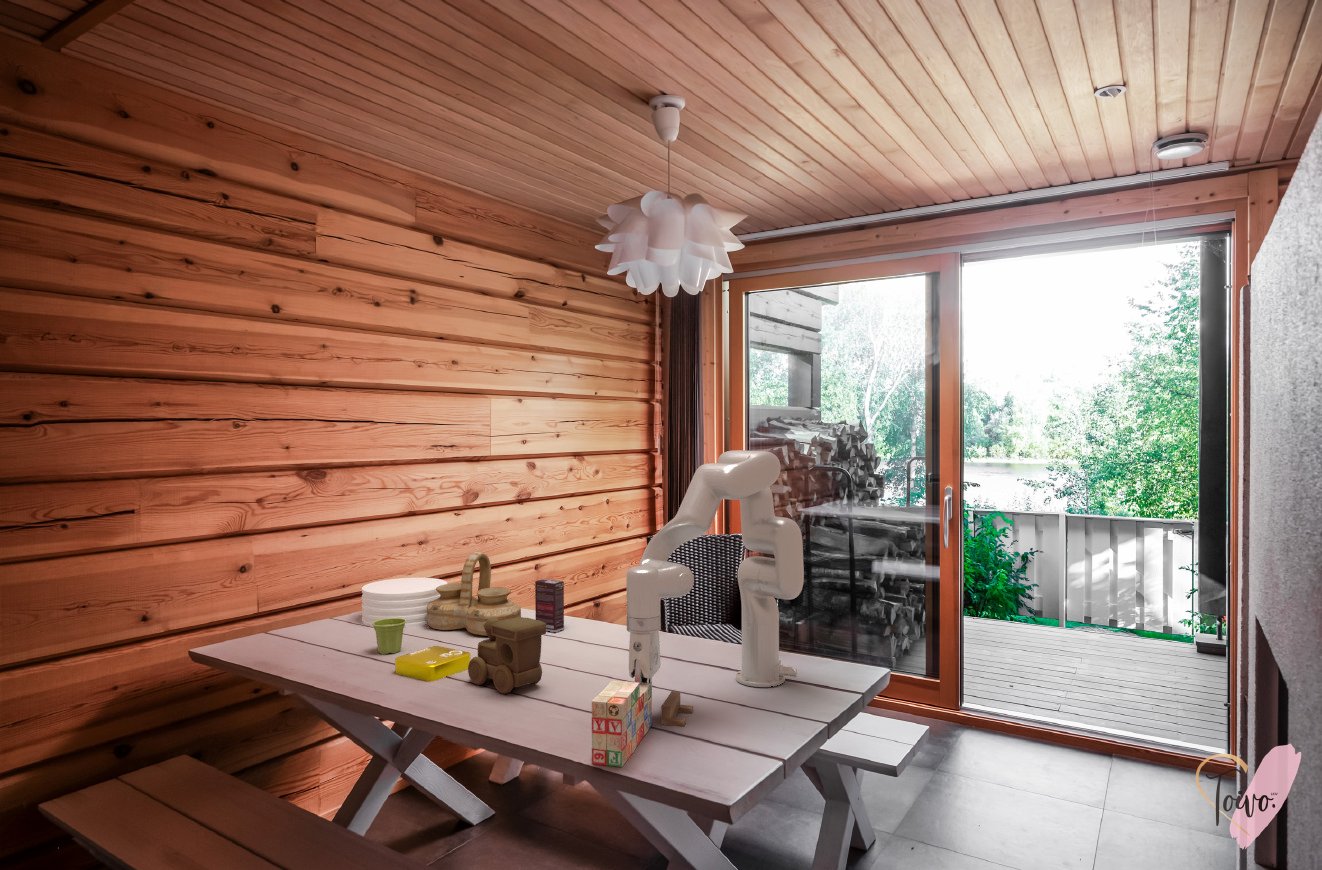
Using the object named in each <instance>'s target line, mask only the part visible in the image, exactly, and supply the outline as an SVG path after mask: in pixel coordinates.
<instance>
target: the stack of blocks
mask: <svg viewBox="0 0 1322 870" xmlns="http://www.w3.org/2000/svg"><path fill="white" fill-rule="evenodd" d="M651 687H652V685H651V683H642V684H641V685H640V684H639V683H636V682H635V681H627V680H626V681H621V680H620V681H618V680H611V681H610V682H609V683H608V684H607V685H606V686H605V687H604V689H603V690H602V691H601V692H599V693H598V695H596V696H595V697H594V698H593V699H592V700H591V764H592V765H599V766H609V767H616V768H618V767H619V768H622V767H623V766H624V765H625V764H626V762H627V761H628V760H629V759H630V757H631V756H632V755H633V753H634V752H635V750H636V749H637V747H638V745H639V744H640V742H641V740H642V739H643V738H644V737H645V735H646V734H647V733H648V732H649V730H650V729H651V727H652V725H653V720H652V719H653V716H652V715H653V713H652V711H653V696H652V697H651Z"/></svg>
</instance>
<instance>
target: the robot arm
mask: <svg viewBox="0 0 1322 870" xmlns="http://www.w3.org/2000/svg"><path fill="white" fill-rule="evenodd" d="M781 468H782V467H781V463H780V459H779V457H778V456H777V455H775V454H774V453H773V452H771V451H767V450H766V451H765V450H743V449H739V450H738V449H737V450H736V449H735V450H728V451H725V452H723V453H721V454H720V455H719V456H718V459H717V463H716V462H715V463H714V462H711V463H709V462H708V463H704V464H701V465H700V466H699V467H698V468H696V470H695V472H694V474H693V477H692V478H691V481H690V483H689V484H688V487H687V490H686V492H685V495H684V497H683V499H682V501H681V504H680V505H679V506H680V507H679V508H678V510H677V512H676V515H674V518H672V519H670V520H669V522H667V523H666V524H664V526H663V527H661V528H660V530H658V532H656V533H655V534H654V536H652V538H651V539H650V540H649V542H648V544H647V545H646V547H645V550H644V551H643V553H642V556H641V558H640V561H639V563H638V565H637V566H633V567H629V569H628V570H627V572H626V631H627V632H629V634H630V635H629V646H628V647H629V648H628V649H629V650H628V674H629V675H628V676H629V677H630V678H631V679H634V682H636V683H639V684H640V685H641V684H642V683H651V697H652V698H653V694H652V693H653V691H652V690H653V687H652V684H653V683H652V682H653V677H654V676H655V675H656V674H657V673H658V672H659V669H660V668H661V664H662V663H661V647H660V646H661V645H660V642H661V641H660V633H659V632H660V631H661V599H663V598H665V599H666V598H681V597H683V596H686V595H688V594H689V593H690V592H691V590H692V588H693V586H694V583H695V576H694V574H693V572H692V570H691V569H690V568H689V567H687V565H686V566H685V565H684V564H680V563H675V562H671V561H668V560H669V558H670V556H671V555H672V554H673V553H674V551H675V550H677V549H678V548H679V547H680V546H681V545H683V544H685V543H687V542H689V541H693V540H695V539H697V538H699V537H702V536H703V535H705V534H707V533H708V532H709V531H710V529H711V527H712V525H713V521H714V519H715V517H716V514H717V512H718V510H719V508H720V505H721V503H722V500H730V501H731V500H733V501H738V500H739V507H740V508H739V509H740V524H741V528H740V529H741V539H742V544H743V546H744V547H745V548H746V549H747V550H749V551H751V552H756V553H761V554H767V555H773V557H774V558H772V557H767V556H756V555H755V556H754V555H753V556H748V557H747V558H744V559H743V560H742V561H741V562H740V564H739V566H738V569H737V582H738V587H739V592H740V601H741V670H738V671H737V672H736V674H735V680H736V681H737V682H738V683H740V684H741V685H745V686H749V687H754V688H770V687H771V686H773V687H778V686H781V685H782V683H783V684H784V683H785V682H786V676H787V677H793V678H794V677H795V678H796V677H797V668H793V666H784V665H783V664H782V660H780V652H779V651H780V612H779V607H778V603H777V600H776V599H781V600H794V599H795V598H797V597H799V595H800V594H801V593H802V590H803V586H804V583H805V582H804V581H805V579H804V578H805V576H804V575H805V571H804V568H805V567H804V548H803V544H804V543H803V536H802V535H803V534H802V531H801V529H800V526H799V524H798V523H797V522H796V521H795V520H793V519H791V518H789V517H784V516H783V517H782V516H776V514H775V507H774V497H773V493H772V489H771V486H772V485H774V484H775V482H777V480H778V479H779V476H780V475H781ZM775 598H776V599H775ZM784 681H785V682H784ZM780 684H781V685H780ZM777 685H778V686H777ZM771 688H772V687H771Z"/></svg>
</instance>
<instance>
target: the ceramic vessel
mask: <svg viewBox="0 0 1322 870" xmlns="http://www.w3.org/2000/svg"><path fill="white" fill-rule="evenodd" d="M477 562H478V564H479V565H478V566H479V579H478V586H477V587H478V588H477V592H476V595H477V597H476V596H474V595H473V581H474V580H473V579H474V578H473V577H474V572H475V568H476V565H477ZM491 565H492V564H491V561H490V558H489V556H488V555H487V554H486V553H485V552H482V551H473V552H471V553H470V554H469V555H468V556H467V558H466V559H465V561H464V564H463V567H462V571H461V582H455V583H454V582H453V583H447V584H445V585H440V586H438V587H437V588H436V591H437V592H438V593H439V594H440V597H439V598H438V599H435V600H434V601H432V602H431V603H430V604H429V605H428V606H427V617H428V624H427V625H428V626H429V627H430V628H431V629H437V630H442V631H449V630H450V631H451V630H462V629H466V630H467V632H469V633H471V634H473V635H478V636H484V637H485V636H486V637H488V635H487V633H486V631H485V629H484V625H485V623H486V621H487V620H488V619H489V618H497V619H498V620H499V621H503V620H508V619H512V618H520V617H522V612H521V611H522V609H521V606H520V605H519V604H518V603H517V602H514V601H513V600H511V599H508V596H509V595H511V589H510V588H509V587H501V586H494V587H493V586H491V581H492V580H491V579H492V567H491Z"/></svg>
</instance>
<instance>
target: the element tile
mask: <svg viewBox="0 0 1322 870" xmlns="http://www.w3.org/2000/svg"><path fill="white" fill-rule="evenodd" d="M471 656H472V655H471V653H470V652H469V651H465V650H464V651H463V650H459V649H455V648H449V647H445V646H440V645H434V646H433V645H432V646H430V647H426V648H423V649H419V650H417V651H413V652H411V653H407V654H403V655H401V656H400V655H399V656H397V657H395V659H394V668H395V669H394V671H395V672H394V673H395V675H400V676H404V677H407V678H411V679H416V680H418V681H424V682H435V680H436V681H439V680H441V679H440V678H442V679H444V678H443V677H445V678H447V677H446V676H448V677H450V676H452V674H453V675H455V673H456V674H458V673H461V672H464V671H467V670H468V665H469V662H470V660H471V659H472V658H471ZM466 669H467V670H466ZM463 670H464V671H463ZM449 675H450V676H449ZM438 679H439V680H438Z"/></svg>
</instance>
